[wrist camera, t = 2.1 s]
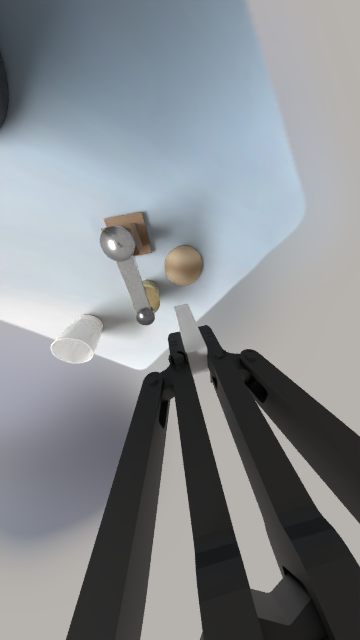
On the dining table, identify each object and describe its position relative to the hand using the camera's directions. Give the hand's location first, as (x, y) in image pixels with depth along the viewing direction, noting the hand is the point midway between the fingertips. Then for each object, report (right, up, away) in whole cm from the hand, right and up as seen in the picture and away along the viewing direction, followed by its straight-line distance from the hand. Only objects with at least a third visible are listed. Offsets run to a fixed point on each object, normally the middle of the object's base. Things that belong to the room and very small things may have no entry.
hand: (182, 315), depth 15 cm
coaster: (0, +12, +18) cm, 22 cm away
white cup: (-25, -2, +23) cm, 34 cm away
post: (-11, +16, +13) cm, 23 cm away
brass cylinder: (-9, +7, +20) cm, 23 cm away
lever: (-8, +6, +8) cm, 12 cm away
